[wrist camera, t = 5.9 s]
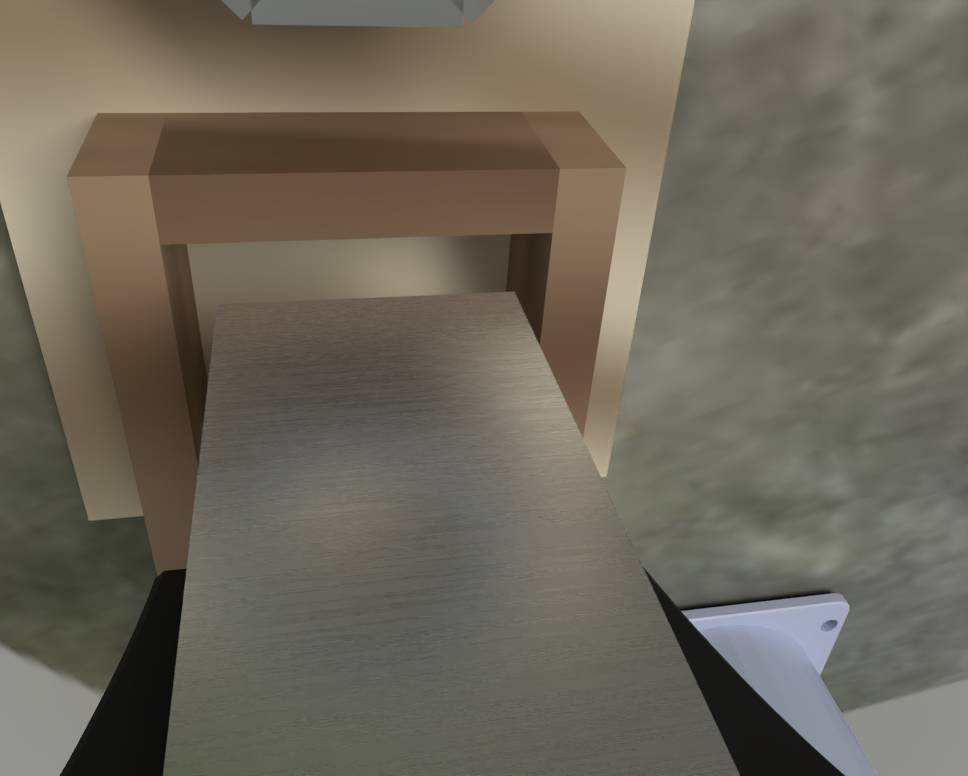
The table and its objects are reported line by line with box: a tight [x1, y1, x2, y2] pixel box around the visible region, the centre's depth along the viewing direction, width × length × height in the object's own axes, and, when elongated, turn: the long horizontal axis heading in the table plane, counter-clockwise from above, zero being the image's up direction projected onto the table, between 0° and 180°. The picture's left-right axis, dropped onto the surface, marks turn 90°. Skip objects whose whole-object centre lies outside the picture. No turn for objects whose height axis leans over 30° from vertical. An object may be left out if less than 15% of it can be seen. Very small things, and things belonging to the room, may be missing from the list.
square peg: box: [163, 292, 740, 776], centre depth 10 cm, size 4×4×8 cm
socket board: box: [0, 0, 695, 577], centre depth 13 cm, size 18×11×4 cm, turn 177°
